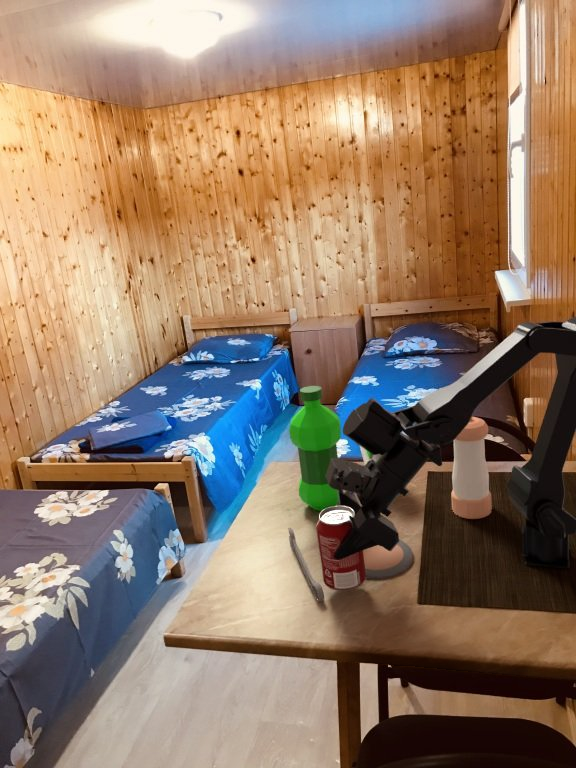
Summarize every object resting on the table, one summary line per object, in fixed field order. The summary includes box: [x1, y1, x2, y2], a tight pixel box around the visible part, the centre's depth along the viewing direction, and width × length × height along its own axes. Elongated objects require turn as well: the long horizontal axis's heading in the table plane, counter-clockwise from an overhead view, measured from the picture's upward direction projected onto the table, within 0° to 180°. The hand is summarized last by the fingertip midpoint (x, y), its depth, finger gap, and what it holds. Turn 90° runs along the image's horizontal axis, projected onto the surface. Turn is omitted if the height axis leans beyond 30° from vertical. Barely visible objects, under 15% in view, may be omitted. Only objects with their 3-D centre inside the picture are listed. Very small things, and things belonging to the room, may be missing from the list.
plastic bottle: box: [288, 385, 342, 512], centre depth 123 cm, size 10×10×25 cm
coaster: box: [363, 539, 414, 579], centre depth 106 cm, size 12×12×1 cm
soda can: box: [315, 505, 367, 592], centre depth 96 cm, size 7×7×12 cm
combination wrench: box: [287, 527, 325, 603], centre depth 105 cm, size 4×1×20 cm
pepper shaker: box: [450, 416, 493, 520], centre depth 115 cm, size 7×7×19 cm
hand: (331, 546), depth 96 cm, fingers closed on soda can, 6 cm apart
